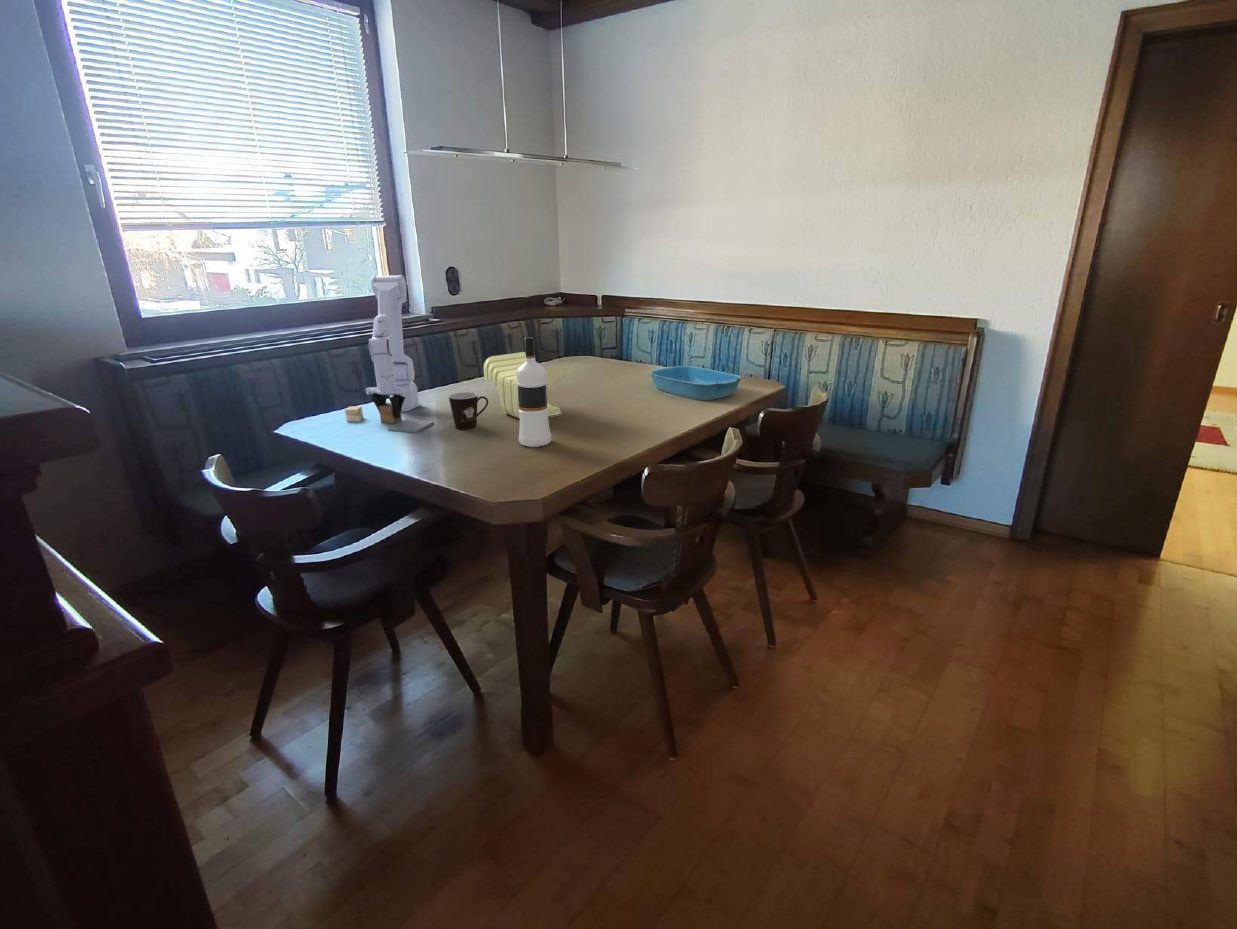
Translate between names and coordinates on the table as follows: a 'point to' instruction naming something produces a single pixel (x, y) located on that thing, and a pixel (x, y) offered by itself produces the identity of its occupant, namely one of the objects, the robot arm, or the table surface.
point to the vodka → (532, 400)
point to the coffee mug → (465, 409)
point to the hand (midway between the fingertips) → (390, 417)
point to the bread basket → (506, 381)
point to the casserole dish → (695, 382)
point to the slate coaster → (411, 426)
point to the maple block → (354, 413)
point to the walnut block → (387, 414)
